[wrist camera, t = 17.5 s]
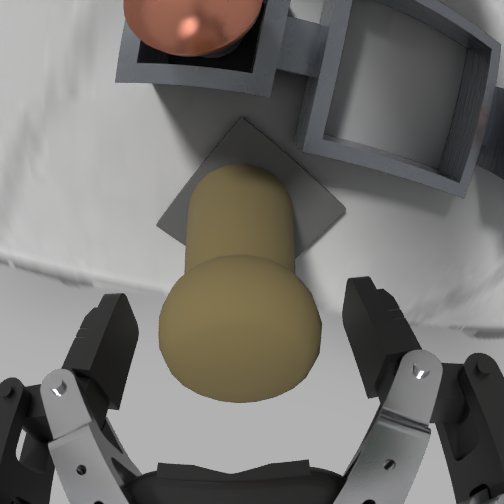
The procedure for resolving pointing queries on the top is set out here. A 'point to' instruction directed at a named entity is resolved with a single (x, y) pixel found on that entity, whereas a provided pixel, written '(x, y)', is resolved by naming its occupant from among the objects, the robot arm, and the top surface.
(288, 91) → the top surface
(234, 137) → the pad
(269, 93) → the housing
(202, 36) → the plunger
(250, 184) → the cork
